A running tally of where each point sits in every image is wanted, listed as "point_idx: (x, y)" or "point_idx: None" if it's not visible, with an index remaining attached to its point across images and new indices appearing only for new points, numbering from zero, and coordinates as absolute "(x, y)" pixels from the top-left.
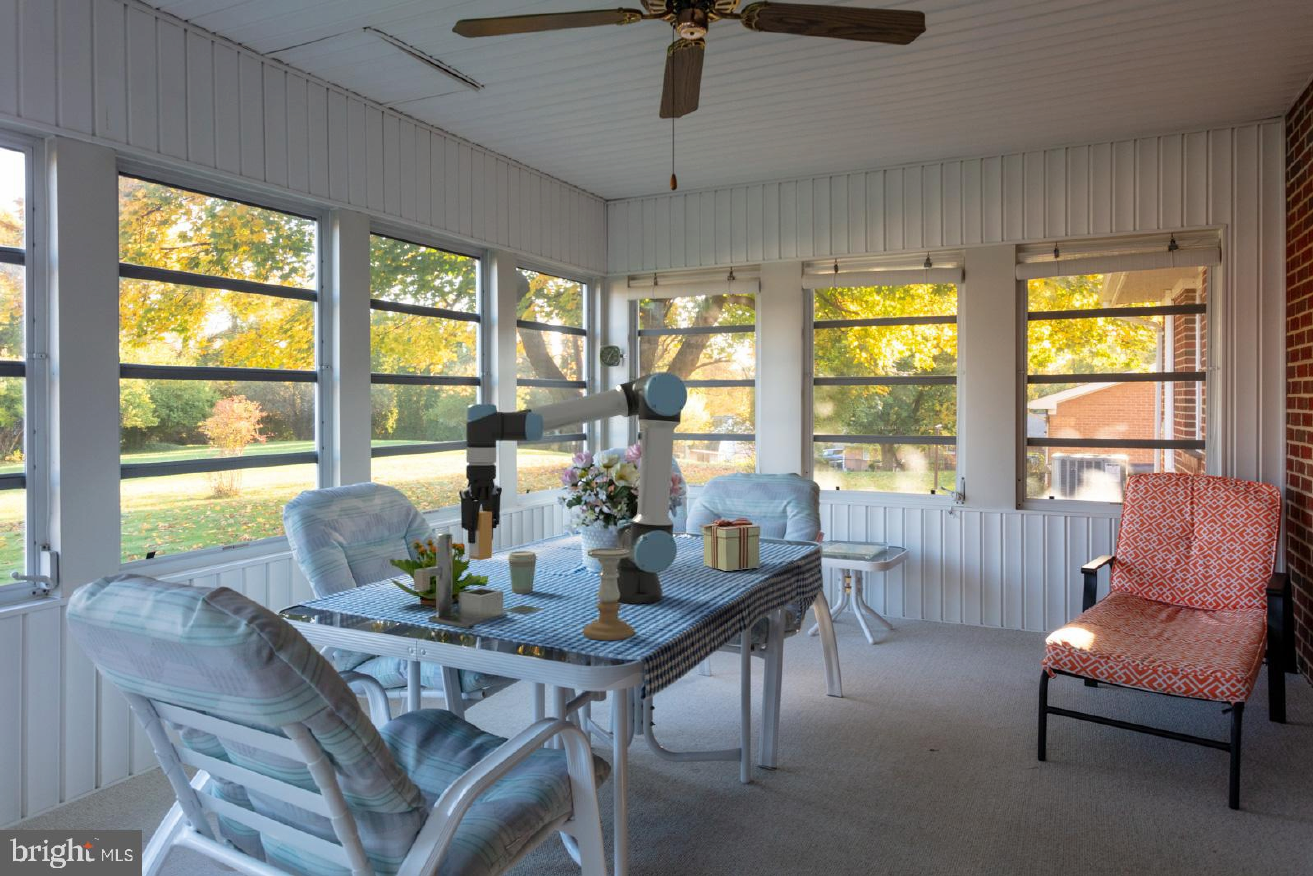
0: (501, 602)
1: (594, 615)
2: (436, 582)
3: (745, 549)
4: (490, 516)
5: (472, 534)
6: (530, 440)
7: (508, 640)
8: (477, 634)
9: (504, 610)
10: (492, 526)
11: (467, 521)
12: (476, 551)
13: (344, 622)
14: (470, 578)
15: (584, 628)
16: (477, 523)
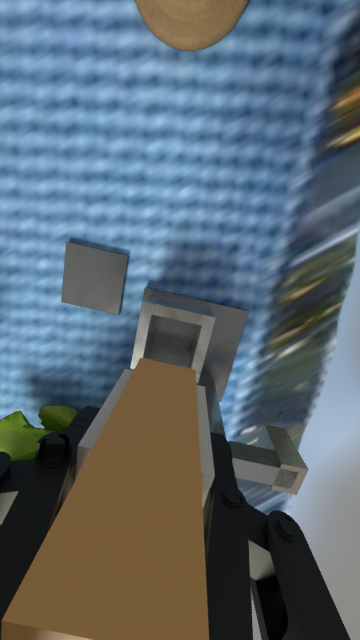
0: (152, 298)
1: (49, 109)
2: None
3: None
4: (64, 547)
5: (232, 474)
6: None
7: (303, 193)
8: (277, 274)
9: (114, 311)
10: (64, 457)
11: (326, 598)
12: (205, 399)
13: (264, 496)
14: (17, 449)
15: (216, 28)
16: (211, 533)
